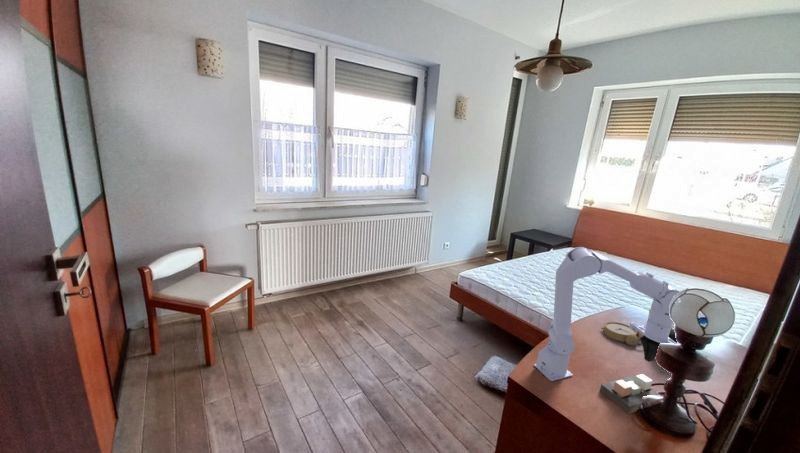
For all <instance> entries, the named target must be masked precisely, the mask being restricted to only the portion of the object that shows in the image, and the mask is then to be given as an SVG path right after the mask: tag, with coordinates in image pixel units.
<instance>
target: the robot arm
mask: <svg viewBox="0 0 800 453" xmlns="http://www.w3.org/2000/svg"><path fill="white" fill-rule="evenodd" d="M606 272H607V273H610V274H612V275H613V276H616V277H618V278H620V279H622V280H625V281H627V282H629V285H630V287H631V288H632V289H633V290H635V291H638V292H639V293H641V294H643V295H645V296H647V297H648V298H651V299H652V303H651V305H650V308H649V310H650V313H649V312H648V315H649V316H648V315H647V316H648V317H647V320H646V323H645V325H643V324H641V323H638V322H636V321H632V322H629V325H628V326H629V328H631V329H635V330H636V331H638V332H640V333H642V334H643V335H644V336H643V337H641V338H640V340H641V341H640V342H642V344H641V345H642V348H643V355H644V356H643V357H644V358H643V359H644V361H646V362H648V363H650V362H653V361H654V360H655V357H656V353H657V349H658V346H659V344H660V343H674V344H677V343H676V342H674V341H673V340H672V339H670V338H669V333H670V330H671V327H672V324H673V321H672V320H671V319H670V316H669V305H670V302H671V300H672V298H673V296H674V295H676V294H677V293H679V292H681V291H680V290H678V289H677V288H675V287H674V286H672V285H671V284H670V283H668V281H665V280H662V281H661V280H659V279H657V278H655V277H654V275H653V274H652V273H650V272H649V271H647V272H643V271H637V272H634V271H632V270H631V269H629V268H627V267H625V266H623V265H621V264H620V263H618V262H616V261H614V260H613V259H611V258H609V257H607V256H604V255H603V254H601V253H598V252H596V251H594V250H589V249H588V248H587V247H584V246H577V247H574V248H573V249H571V250H569V251H568V252H566V254H565V257H564V259H563V260H562V261H561V264H560V265H559V267H558V268H557V269H556V270H555V282H554V283H555V285H554V286H555V287H554V301H553V302H554V304H553V306H554V307H553V319H552V320H551V323H550V326H549V327H548V330H547V333H548V336H549V340H548V341H547V345H546V346H545V347H543V348H542V349H540V350H539V351H538V354H537V359H536V362H535V363H534V364H533V366H534V367H535V368H537V370H539V372H540V373H541V374H542V375H544V376H545V377H546V378H547V379H548V380H549V381H551V382H553V381H557V380H561V379H565V378H570V377H573V375H574V374H573V373H572V372H571V371H569V370H568V367H569V362H570V357H571V355H572V354H573V353H574V351H575V350H576V345H575V343H574V341H573V332H572V328H571V326H572V324H571V323H572V309H573V296H574V293H573V292H574V282H575V281H577V280H579V279H584V278H587V277H591V276H593V275H595V274H597V273H598V274H600V275H602V274H603V273H606Z"/></svg>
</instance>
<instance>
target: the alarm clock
mask: <svg viewBox="0 0 800 453" xmlns="http://www.w3.org/2000/svg"><path fill="white" fill-rule="evenodd" d="M629 326H630V325H629V324H625V323H622V322H618V321H617V322H616V321H608V322H605V323H604V327H600V329H601V330H603V332H604V334H605V335H606V336H607V337H608V338H610V339H612V340H614V341H618V342H623V343H626V344H627V345H628V346H636V345H638V344H639V345H642V342H641V340H640V338H641V337H643V336H644V335H643V334H642V333H640V332H638V331H636V330H635V329H631V328H629Z"/></svg>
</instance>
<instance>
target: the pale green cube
mask: <svg viewBox="0 0 800 453" xmlns="http://www.w3.org/2000/svg"><path fill="white" fill-rule="evenodd" d="M626 383H628V384H629V385H631V386H632V388H631V392H630V394H632V395H633V396H634V395H637V394H640V390H641V387H640V386H638V385H637V384H635V383H634V382H633V381H629V382H626Z"/></svg>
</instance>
